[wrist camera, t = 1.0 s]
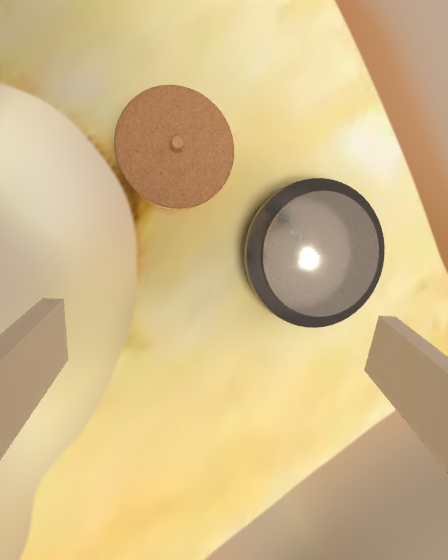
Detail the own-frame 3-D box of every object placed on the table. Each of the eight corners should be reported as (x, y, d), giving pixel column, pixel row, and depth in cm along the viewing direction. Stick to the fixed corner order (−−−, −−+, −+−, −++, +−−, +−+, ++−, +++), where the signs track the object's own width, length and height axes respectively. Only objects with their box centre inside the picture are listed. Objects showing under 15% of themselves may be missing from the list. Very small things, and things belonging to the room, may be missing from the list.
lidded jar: (101, 169, 35) (83, 142, 26) (165, 96, 36) (169, 45, 27) (178, 234, 38) (185, 231, 28) (237, 165, 38) (262, 140, 29)
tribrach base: (212, 278, 39) (220, 283, 34) (284, 156, 39) (302, 144, 34) (321, 342, 43) (342, 354, 38) (385, 231, 43) (415, 229, 38)
